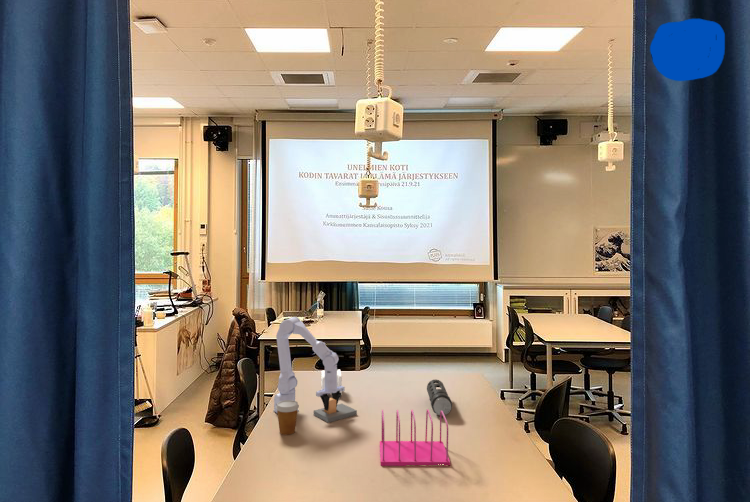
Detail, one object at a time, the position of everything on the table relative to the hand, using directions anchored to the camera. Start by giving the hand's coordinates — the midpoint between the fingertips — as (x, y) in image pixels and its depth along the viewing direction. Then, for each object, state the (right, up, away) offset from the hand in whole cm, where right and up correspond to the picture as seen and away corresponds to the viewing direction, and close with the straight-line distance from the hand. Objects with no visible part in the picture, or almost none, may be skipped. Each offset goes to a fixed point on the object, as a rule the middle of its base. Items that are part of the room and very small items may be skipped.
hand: (330, 408), depth 216 cm
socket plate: (+2, -3, +1) cm, 4 cm away
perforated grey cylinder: (+52, -4, +11) cm, 53 cm away
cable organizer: (-3, -3, +30) cm, 30 cm away
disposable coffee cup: (-16, -3, -20) cm, 26 cm away
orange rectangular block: (0, -2, 0) cm, 2 cm away
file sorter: (+35, -4, -40) cm, 53 cm away
